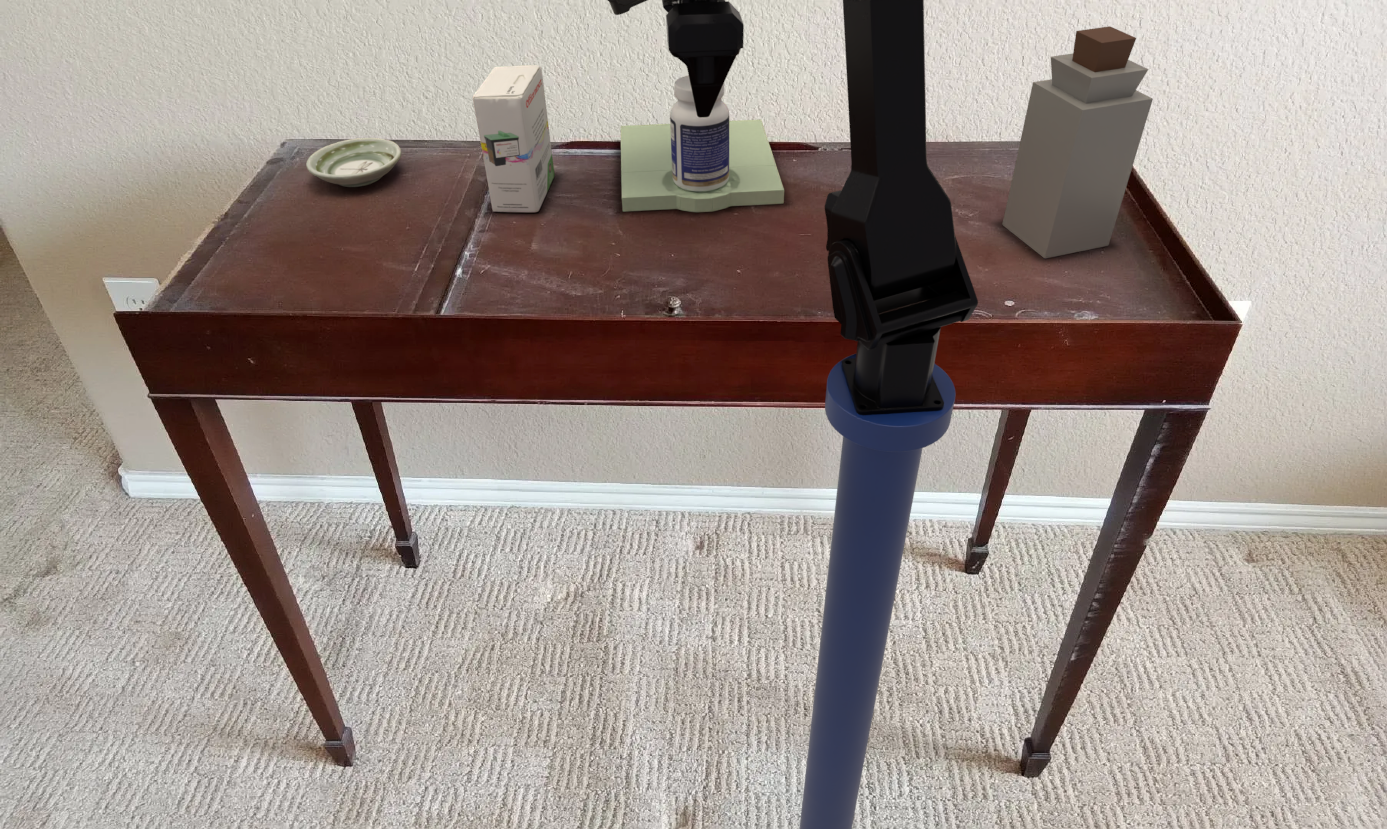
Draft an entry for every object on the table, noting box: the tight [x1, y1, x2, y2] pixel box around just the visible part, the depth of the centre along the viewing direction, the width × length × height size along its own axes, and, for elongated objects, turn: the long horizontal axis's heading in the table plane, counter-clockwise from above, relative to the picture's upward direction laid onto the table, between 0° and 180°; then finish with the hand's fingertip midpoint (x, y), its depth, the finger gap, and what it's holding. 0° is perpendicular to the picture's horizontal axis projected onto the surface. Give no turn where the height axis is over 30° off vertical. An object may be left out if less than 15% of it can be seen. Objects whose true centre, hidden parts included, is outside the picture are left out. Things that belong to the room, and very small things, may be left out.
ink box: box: [472, 64, 555, 213], centre depth 90 cm, size 8×5×12 cm, turn 175°
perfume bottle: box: [1001, 25, 1154, 259], centre depth 79 cm, size 7×7×18 cm
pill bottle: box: [669, 75, 730, 192], centre depth 89 cm, size 6×6×10 cm
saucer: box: [305, 137, 402, 188], centre depth 97 cm, size 10×10×2 cm
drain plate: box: [619, 119, 785, 213], centre depth 97 cm, size 19×16×2 cm
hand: (699, 97), depth 87 cm, fingers open, 9 cm apart
